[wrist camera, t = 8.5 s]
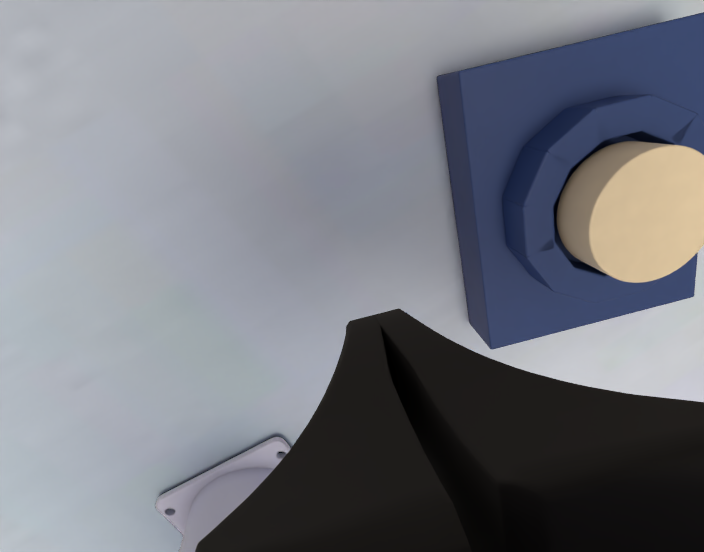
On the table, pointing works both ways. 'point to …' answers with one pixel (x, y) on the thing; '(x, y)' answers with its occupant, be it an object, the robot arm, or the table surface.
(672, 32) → the button base
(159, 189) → the table surface
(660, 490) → the robot arm
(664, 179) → the disc
